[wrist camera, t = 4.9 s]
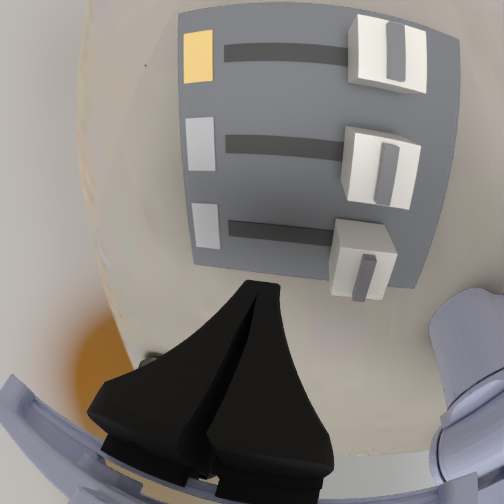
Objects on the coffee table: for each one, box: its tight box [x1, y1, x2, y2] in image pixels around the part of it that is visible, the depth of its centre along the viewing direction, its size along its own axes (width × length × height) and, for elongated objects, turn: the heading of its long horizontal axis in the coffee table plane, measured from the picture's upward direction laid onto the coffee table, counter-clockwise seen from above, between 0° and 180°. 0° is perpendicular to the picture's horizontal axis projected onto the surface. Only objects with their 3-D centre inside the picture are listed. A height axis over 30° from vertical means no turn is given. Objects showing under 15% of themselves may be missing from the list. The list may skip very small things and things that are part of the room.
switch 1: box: [348, 14, 427, 94], centre depth 8 cm, size 3×3×4 cm
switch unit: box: [178, 2, 460, 289], centre depth 13 cm, size 15×16×2 cm
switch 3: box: [329, 219, 397, 302], centre depth 13 cm, size 3×3×4 cm
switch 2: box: [340, 126, 421, 210], centre depth 10 cm, size 3×3×4 cm
